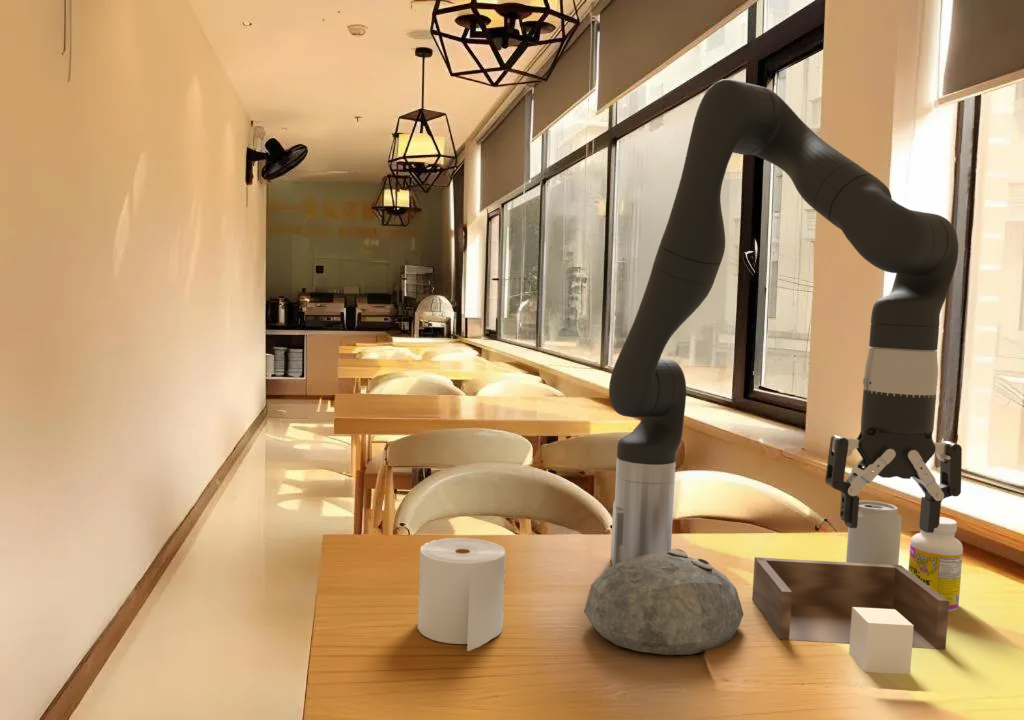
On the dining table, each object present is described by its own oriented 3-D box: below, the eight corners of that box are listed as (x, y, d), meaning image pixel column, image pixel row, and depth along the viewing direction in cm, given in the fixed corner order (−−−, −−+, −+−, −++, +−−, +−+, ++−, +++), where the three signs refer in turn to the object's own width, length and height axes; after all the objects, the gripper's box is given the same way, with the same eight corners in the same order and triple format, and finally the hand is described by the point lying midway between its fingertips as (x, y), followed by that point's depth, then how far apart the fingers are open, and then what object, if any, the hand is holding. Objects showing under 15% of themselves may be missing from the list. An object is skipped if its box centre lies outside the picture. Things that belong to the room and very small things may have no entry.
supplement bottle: (896, 599, 120) (902, 513, 119) (939, 600, 120) (945, 513, 119) (923, 616, 113) (929, 525, 112) (968, 617, 114) (975, 526, 113)
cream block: (864, 674, 93) (868, 622, 92) (848, 656, 98) (852, 606, 97) (909, 677, 92) (913, 625, 92) (891, 658, 97) (895, 609, 97)
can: (886, 573, 132) (892, 500, 131) (904, 588, 125) (910, 511, 124) (839, 570, 133) (843, 497, 132) (853, 585, 125) (859, 508, 125)
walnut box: (778, 645, 101) (782, 591, 101) (751, 604, 115) (754, 557, 114) (945, 655, 100) (949, 600, 99) (897, 613, 114) (900, 565, 113)
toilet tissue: (464, 606, 110) (466, 533, 109) (527, 634, 101) (531, 554, 101) (399, 625, 102) (402, 547, 102) (462, 657, 94) (466, 571, 93)
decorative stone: (559, 617, 108) (563, 542, 107) (690, 601, 116) (694, 531, 115) (630, 674, 92) (635, 586, 91) (776, 650, 100) (781, 569, 99)
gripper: (847, 388, 89) (836, 534, 91) (981, 395, 89) (968, 542, 90) (824, 382, 97) (815, 517, 98) (948, 388, 96) (936, 523, 97)
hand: (888, 528), depth 94 cm, fingers open, 8 cm apart
